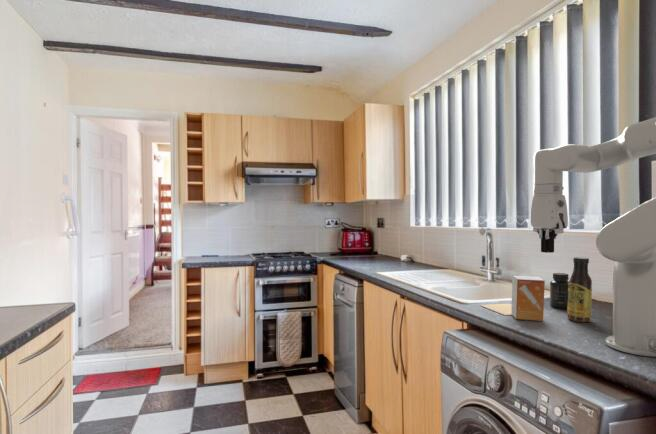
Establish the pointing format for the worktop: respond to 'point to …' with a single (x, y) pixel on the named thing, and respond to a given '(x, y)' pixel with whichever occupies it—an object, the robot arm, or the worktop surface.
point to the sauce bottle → (580, 291)
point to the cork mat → (500, 308)
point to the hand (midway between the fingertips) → (547, 252)
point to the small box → (528, 297)
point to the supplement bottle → (559, 291)
